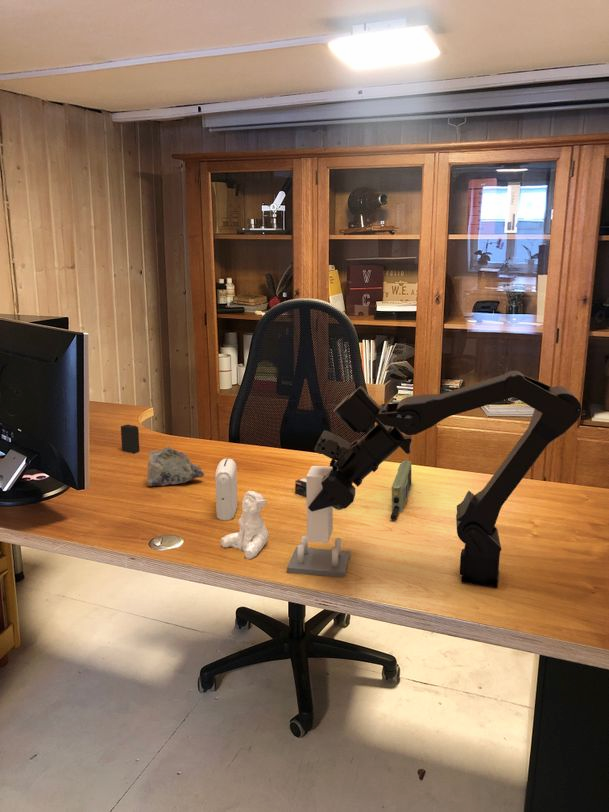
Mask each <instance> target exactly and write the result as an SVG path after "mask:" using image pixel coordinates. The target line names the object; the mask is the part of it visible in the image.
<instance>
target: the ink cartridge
mask: <svg viewBox="0 0 609 812" xmlns="http://www.w3.org/2000/svg"><path fill="white" fill-rule="evenodd" d="M120 434H121V435H120V436H121V451H122V452H125V453H129V454H136V453H139V452H140V451H141V450H140V436H139V435H140V434H139V427H138V426H137V425H133V424H124V425H122V426H121V425H120Z"/></svg>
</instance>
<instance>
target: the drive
mask: <svg viewBox="0 0 609 812" xmlns="http://www.w3.org/2000/svg"><path fill="white" fill-rule="evenodd" d="M331 470H333V467H330V466H326V465H325V466H323V465H311V467H310V469H309V471H308V472H307V474H306V477H305V478H306V482H307V498H306V536H307V542H308V543H319V544H320V543H321V544H329V542H330V539H331V535H332V534H333V529H334V526H333V525H334V518H333V516H334V515H333V514H334V508H333V506H331V507H327V508H324V509H320V510H316V511H311V510H310V509H309V508H308V507H309V505H310V504H311V503H312V501H313V500H314V499H315V497H316V496H317V495H318V493H319V492H320V491H321V490H322V484H321V482H322V479H323V477H324V476H326V475H327V474H328V473H329V472H330V471H331Z"/></svg>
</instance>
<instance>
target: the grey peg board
mask: <svg viewBox="0 0 609 812" xmlns="http://www.w3.org/2000/svg"><path fill="white" fill-rule="evenodd" d="M308 544H309V542H307V535H302V536H301V544H297V546H296V547H295V549H294V552H293V553H292V556H291V557H290V560H289V562H288V564H287V567H286V573H288V574H299V575H310V576H321V577H323V576H324V577H333V578H344V579H345V577H346V574H347V571H348V568H349V567H348V566H349V564H350V563H349V562H350V559H351V554H352V552H351V550H342V538H339V537H336V538H335V539H334V547H332V548H331V549H326V548H316V547H315V548H313V547H309V545H308Z"/></svg>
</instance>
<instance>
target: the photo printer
mask: <svg viewBox="0 0 609 812" xmlns="http://www.w3.org/2000/svg"><path fill="white" fill-rule="evenodd" d="M214 476H215V477H214V478H215V480H214V481H215V504H216V505H215V506H216V509H215V510H216V518H217V519H218V520H220V521H230V520H232V519H233V518H234V517H235V514H236V511H237V506H238V475H237V463H236V462H235V460H234V459H232V458H226V457H225V458H223V459H222V460H220V462H219V463H218V465H217V467H216V470H215V475H214Z"/></svg>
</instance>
